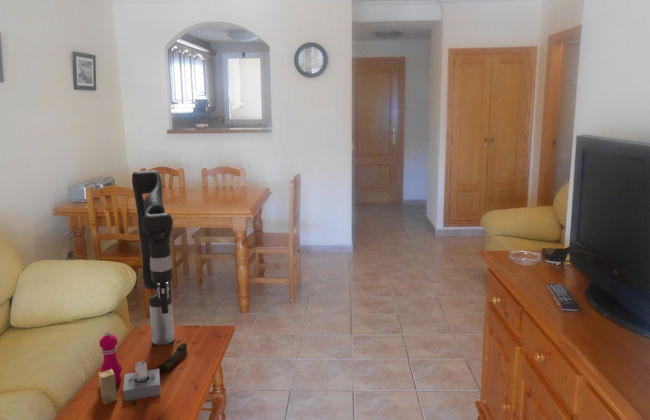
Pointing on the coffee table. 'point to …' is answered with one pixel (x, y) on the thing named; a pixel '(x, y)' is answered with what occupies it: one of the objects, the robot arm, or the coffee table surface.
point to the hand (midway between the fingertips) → (165, 308)
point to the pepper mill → (110, 355)
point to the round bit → (141, 372)
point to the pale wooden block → (108, 386)
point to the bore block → (141, 386)
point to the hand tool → (173, 358)
